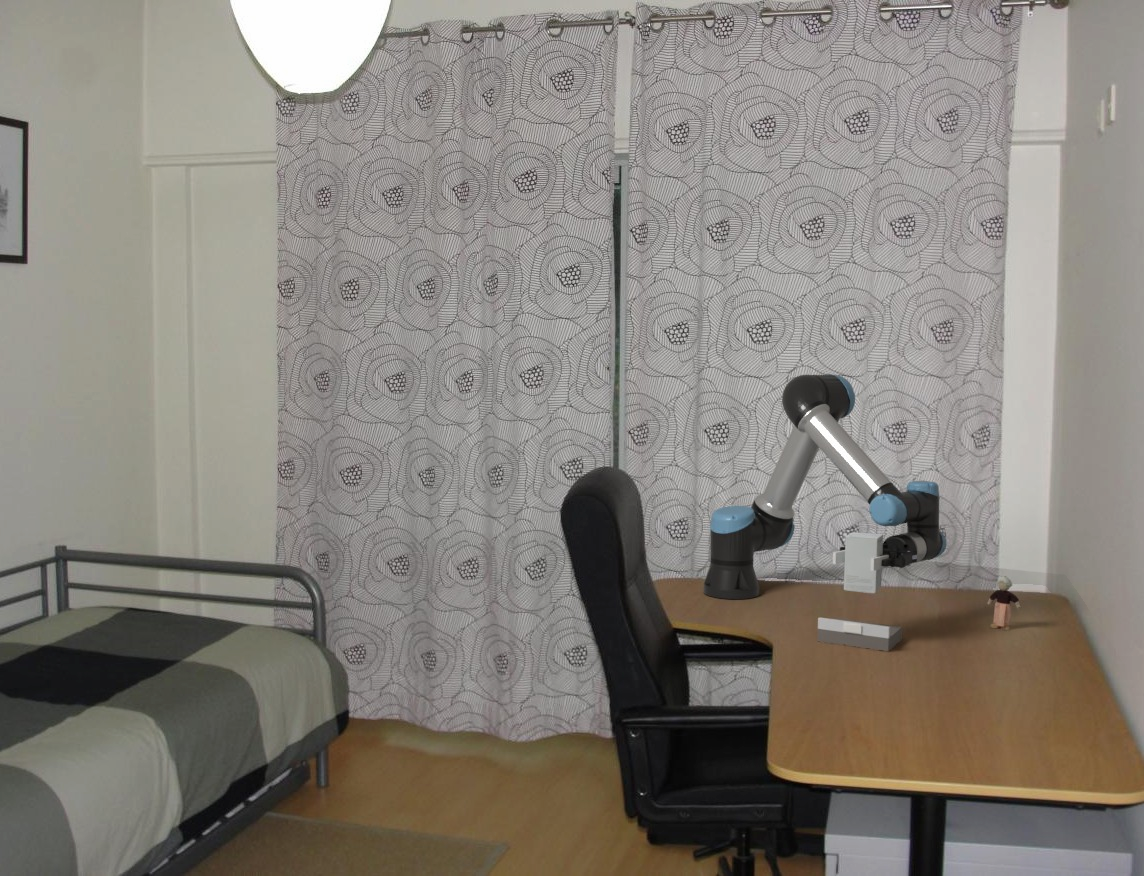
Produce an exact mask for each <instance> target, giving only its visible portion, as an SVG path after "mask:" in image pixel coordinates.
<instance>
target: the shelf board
mask: <svg viewBox="0 0 1144 876" xmlns="http://www.w3.org/2000/svg"><path fill="white" fill-rule="evenodd" d="M902 640H903V627H902V626H898V625H891V624H890V625H889V624H882V623H876V622H868V621H861V620H854V619H852V620H851V619H845V618H837V617H833V618H829V617H828V618H826V617H818V618H817V641H820V642H819V643H824V642H828V643H827V644H831V643H836V644H835V645H838V644H845V645H851V646H856V647H855V648H858V647H863V648H862V649H865V648H870V649H869V650H872V649H877V650H876V651H879V650H884V651H883V652H886V651H889V650H890V649H891V650H892V649H893V648H894V647H895V646H897V645H898V644H899V643H900V642H901V641H902ZM899 641H900V642H899ZM898 642H899V643H898ZM897 643H898V644H897ZM896 644H897V645H896ZM851 646H850V647H851ZM891 650H890V651H891ZM890 651H889V652H890Z"/></svg>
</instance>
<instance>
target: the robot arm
mask: <svg viewBox="0 0 1144 876" xmlns="http://www.w3.org/2000/svg"><path fill="white" fill-rule="evenodd" d="M781 396H782V397H781V400H782V401H781V402H782V407H783V410H784V413H785V414H786V416H787V418H788V419H789V420H790V422H791V423H792V425H793V427H792V429H791V432H790V434H789V437H788V439H787V441H786V443H785V444H784V445H785V446H783V447H784V448H782V449H783V450H782V452H781V453H780V456H779V459H778V461H777V462H776V465H775V467H774V470H773V472H772V474H771V476H770V478H769V480H768V482H767V485H766V487H765V489H764V491H763V493H762V494H759V495H756V496H755V498H754V500H753V502H752V504H751V506H745V505H733V506H724V507H720V508H718V509H715V510H714V511H713V513H712V514H711V522H710V525H709V528H710V554H709V555H710V558H709V559H710V562H709V568H708V569H707V573H706V577H705V579H704V581H703V587H702V588H703V594H704V595H706V596H709V597H713V598H718V599H728V600H746V599H753V598H756V597H759V596H760V584H759V582H758V578H757V577H758V576H757V574H756V571H755V567H754V553H757V552H763V551H768V550H769V551H772V550H776V549H779V548H780V547H783V546H785V545H786V544H787V543H789V541H791V539H792V537H793V535H794V532H795V527H796V525H795V524H794V521H795V520H794V516H795V512H794V508H793V505H794V503H795V501H796V498H797V497H798V494H799V492H800V490H801V488H802V486H803V484H804V481H805V480H806V478H807V476H808V473H809V470H810V469H811V467H812V465H813V463H814V460H815V458H816V456H817V454H818V452H819V451H820V450H821V451H822V453H824V455H825V456H826V457H827V458H828V459H829V460H830V462H831V463H832V464H833V465H834V466H835V467H836V469H838V471H839V472H840V473H841V474H842V475H843V476H844V477H845V478H846V480H848V482H849V483H850V484H851V485H852V486H853V488H854V489H855V490H856V492H858V493H859V494H860V495H861V496H862V497H863V499H864V501H866V502H867V503H868V505H869V507H868V511H869V514H870V517H871V520H872V521H873V522H874V523H875V524H877V525H879V526H881V527H897V526H899V525H904V524H906V527H907V528H906V529H907V530H906V532H904V533H903V532H902V533H899V534H895V535H891V536H888V537H887V538H886V539H885V540H883V554H882V556H879V557H874V558H871V570H872V571H875V570H879V569H882V570H883V569H887V568H889V567H890V568H900V569H903V568H906V567H911V565H912V564H917V563H920V562H924V561H931V560H934V559H935V558H938V557H939V556H941V555H942V554H943V553H944V552H945V550H946V548H947V538H946V536H945V535H944V533H943V532H942V531H941V530H940V499H941V497H940V491H939V487H940V486H939V484H938V483H937V482H935V481H929V480H928V481H927V480H926V481H925V480H918V481H917V480H913V481H912V480H911V481H910V482H908V483H907V486H906V490H905V491H900V490H899V489H898V488H897V486H896V485H895V484H894V483H893V482H892V481H891V480H890V479H889V478H888V477H887V476H886V475H885V474H884V472H883V471H882V470H881V469H880V468H879V467H878V466H877V464H876V463H875V462H874V461H873V460H872V459H871V458H870V456H869V455H868V454H867V453H866V452H865V451H864V450H863V449H862V448H861V447H860V445H859V444H858V443H857V442H856V441H855V440H854V438H853V437H852V436H851V435H849V433H848V432H847V431H846V430H845V429H844V428H843V426H842V425H841V424H840V423H839V422H840V419H844V418H845V417H847V416H848V415H850V414H851V413H852V411H853V410H854V408H855V404H856V394H855V391H854V388H853V385H852V384H851V383H850V381H849V380H848V379H846V378H845V377H843V376H841V375H838V374H832V373H826V374H801V375H797V376H796V377H793V378H792V379H790V381H789V382H788V383H787V384H786V385H785V387H784V390H783V392H782V395H781ZM839 564H845V546H840V547H839V550H838V551H834V552H832V565H839Z"/></svg>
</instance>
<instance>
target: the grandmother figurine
mask: <svg viewBox="0 0 1144 876" xmlns="http://www.w3.org/2000/svg"><path fill="white" fill-rule="evenodd" d="M997 584H998V585H997V586H998V589H997V590H995V591H993V593H991V595H990V596H989V598H988V601H987V605H988V606H991V605H992V604H993V602H994V601H995V600H996V602H995V604H994V609H993V610H994V612H993V623H991V624H990V626H989V627H990V628H991V629H999V627H1000V629H1001V630H1002V631H1003V630H1004V631H1010V630H1011V627H1010V625H1011V618H1012V610H1011V609H1012V604H1011V602H1012V603H1013V604H1014V605H1015V607H1016V609H1021V608H1022V606H1021V605H1020V602H1019V601H1020V599H1019V598H1018V597H1017V596H1016V595H1015V594H1014V593H1013V592H1011V591H1008V590H1009V589H1010V588H1011V587H1013V582H1012V581H1011V579H1010V578H1009V577H1007V576H1004V575H1003V576H999V577H998V578H997Z"/></svg>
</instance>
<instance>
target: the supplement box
mask: <svg viewBox="0 0 1144 876" xmlns="http://www.w3.org/2000/svg"><path fill="white" fill-rule="evenodd" d="M883 543H884V534H883V533H870V532H855V531H853V532H851V533H849V534H848V535H846V536H845V546H844V547H845V562H844V575H843V591H849V592H858V593H865V594H876V593H877V591H878V590H880V589H881V588H882V579H883V578H882V576H883V569H879V570H875V571H872V570H871V558H874V557H879V556H882V554H883Z"/></svg>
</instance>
